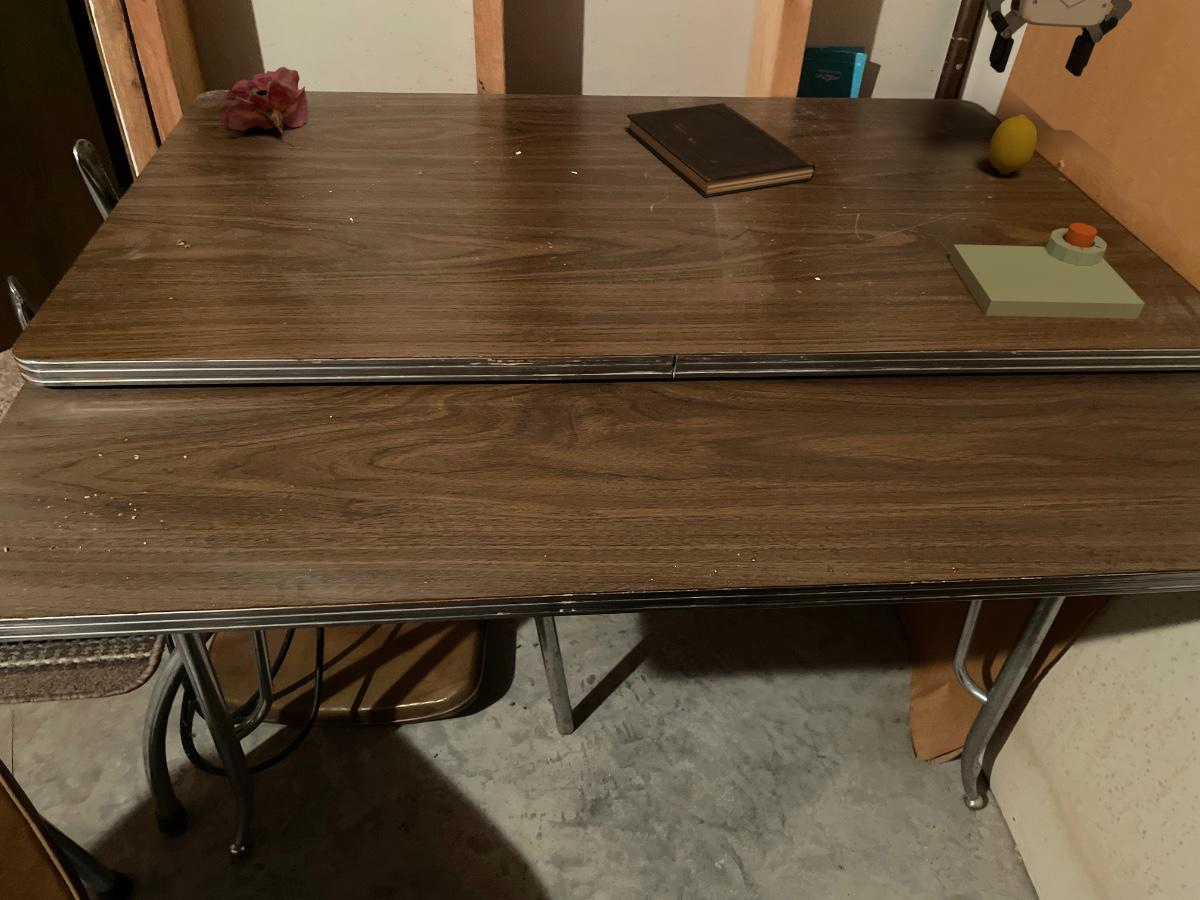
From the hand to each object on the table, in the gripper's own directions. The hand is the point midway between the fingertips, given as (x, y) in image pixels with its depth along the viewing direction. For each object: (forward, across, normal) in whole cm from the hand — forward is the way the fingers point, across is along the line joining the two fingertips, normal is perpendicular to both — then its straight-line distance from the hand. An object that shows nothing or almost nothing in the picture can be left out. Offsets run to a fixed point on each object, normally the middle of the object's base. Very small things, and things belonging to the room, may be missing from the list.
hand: (1034, 71), depth 113 cm
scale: (+13, -6, -30) cm, 34 cm away
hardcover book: (+14, -38, +4) cm, 40 cm away
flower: (+15, -98, +7) cm, 99 cm away
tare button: (+10, -2, -26) cm, 28 cm away
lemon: (+14, 0, 0) cm, 14 cm away
